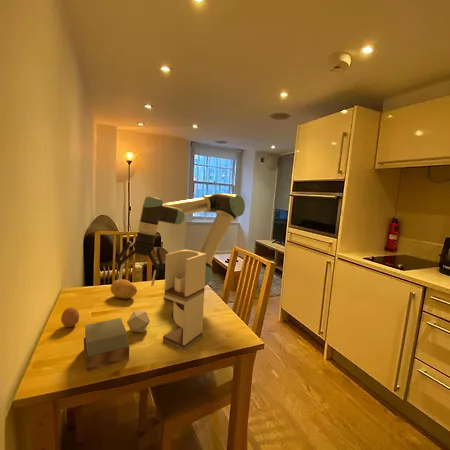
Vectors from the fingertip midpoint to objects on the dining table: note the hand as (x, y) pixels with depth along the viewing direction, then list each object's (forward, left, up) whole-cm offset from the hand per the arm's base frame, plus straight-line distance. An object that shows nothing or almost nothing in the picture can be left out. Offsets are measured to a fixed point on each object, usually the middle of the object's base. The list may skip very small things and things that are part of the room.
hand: (136, 282), depth 111 cm
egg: (+24, -10, -19) cm, 33 cm away
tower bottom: (+14, +15, -20) cm, 29 cm away
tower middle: (+14, +15, -15) cm, 25 cm away
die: (0, +5, -19) cm, 20 cm away
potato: (-1, -30, -19) cm, 36 cm away
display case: (-14, +19, -19) cm, 30 cm away
